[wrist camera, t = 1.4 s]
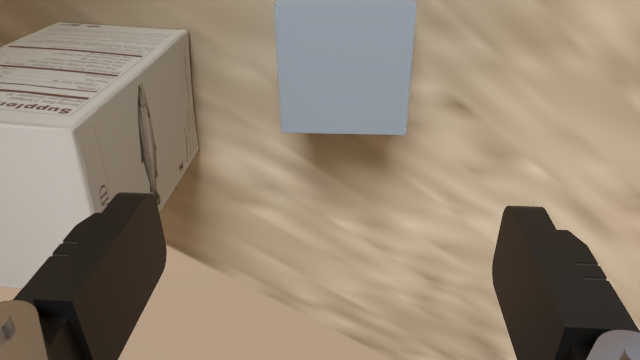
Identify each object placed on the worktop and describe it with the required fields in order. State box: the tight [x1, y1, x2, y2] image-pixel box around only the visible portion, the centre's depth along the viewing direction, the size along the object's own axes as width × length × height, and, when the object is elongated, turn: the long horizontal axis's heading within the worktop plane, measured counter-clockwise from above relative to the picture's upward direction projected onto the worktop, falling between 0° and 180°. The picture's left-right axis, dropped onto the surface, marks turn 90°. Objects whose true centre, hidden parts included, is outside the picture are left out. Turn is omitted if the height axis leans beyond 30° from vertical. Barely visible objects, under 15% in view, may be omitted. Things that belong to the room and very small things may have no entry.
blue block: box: [274, 0, 417, 135], centre depth 23 cm, size 6×6×6 cm
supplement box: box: [0, 22, 199, 289], centre depth 23 cm, size 7×7×13 cm
